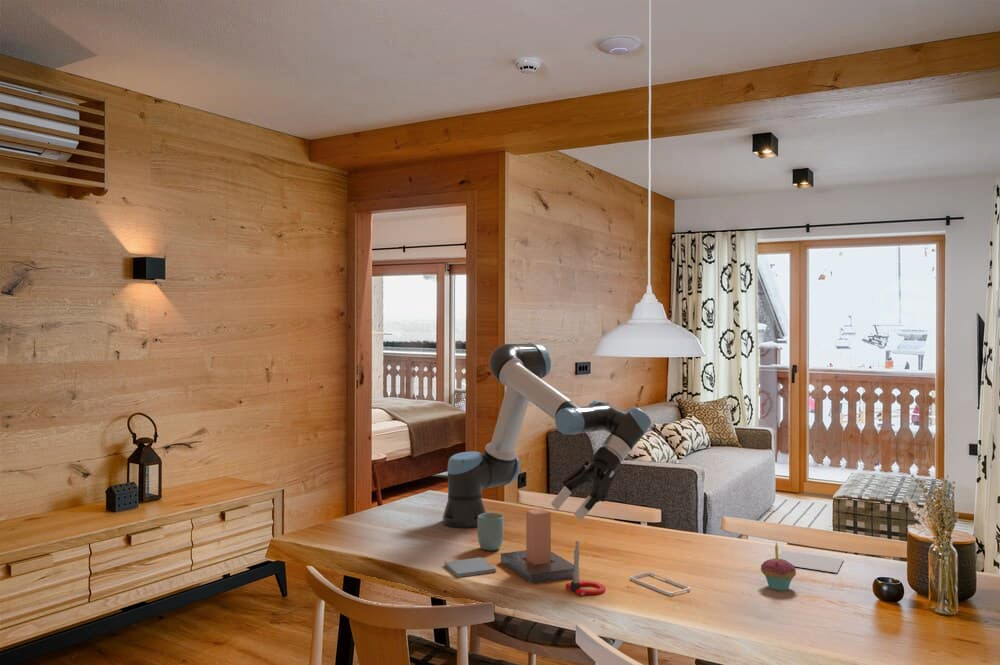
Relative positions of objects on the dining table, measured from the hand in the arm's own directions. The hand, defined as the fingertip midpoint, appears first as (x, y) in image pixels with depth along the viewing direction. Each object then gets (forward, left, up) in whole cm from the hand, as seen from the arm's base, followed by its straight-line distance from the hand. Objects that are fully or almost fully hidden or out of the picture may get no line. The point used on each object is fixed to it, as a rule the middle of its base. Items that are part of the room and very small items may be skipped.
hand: (565, 512), depth 211 cm
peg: (+3, -8, -15) cm, 17 cm away
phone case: (+15, +23, -16) cm, 32 cm away
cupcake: (+16, +53, -15) cm, 58 cm away
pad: (+3, -27, -15) cm, 31 cm away
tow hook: (+19, +4, -15) cm, 25 cm away
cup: (-16, -22, -15) cm, 31 cm away
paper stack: (-7, +75, -16) cm, 77 cm away
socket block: (+3, -8, -15) cm, 17 cm away
